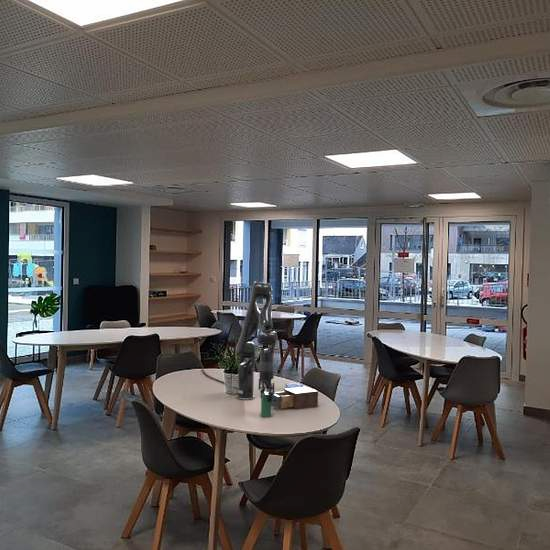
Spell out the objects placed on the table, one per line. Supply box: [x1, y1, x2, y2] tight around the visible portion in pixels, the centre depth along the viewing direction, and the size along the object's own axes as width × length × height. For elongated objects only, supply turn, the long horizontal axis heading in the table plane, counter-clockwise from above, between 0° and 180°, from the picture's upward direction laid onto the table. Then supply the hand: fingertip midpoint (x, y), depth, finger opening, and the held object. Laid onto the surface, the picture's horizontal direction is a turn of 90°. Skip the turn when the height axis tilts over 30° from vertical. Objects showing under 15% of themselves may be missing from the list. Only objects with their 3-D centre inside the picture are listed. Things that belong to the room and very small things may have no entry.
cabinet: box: [283, 386, 319, 410], centre depth 304 cm, size 15×13×9 cm
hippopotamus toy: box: [284, 382, 304, 389], centre depth 323 cm, size 11×15×10 cm
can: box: [260, 391, 272, 418], centre depth 281 cm, size 5×5×12 cm
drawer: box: [271, 391, 294, 410], centre depth 298 cm, size 18×12×7 cm, turn 117°
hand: (266, 400), depth 281 cm, fingers open, 8 cm apart
